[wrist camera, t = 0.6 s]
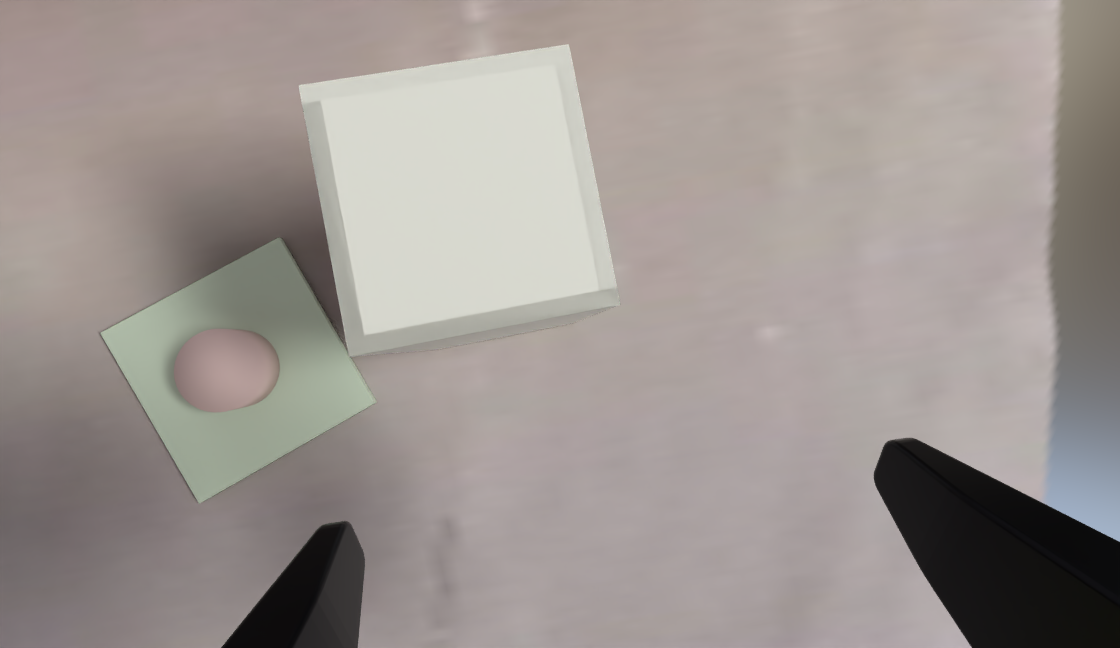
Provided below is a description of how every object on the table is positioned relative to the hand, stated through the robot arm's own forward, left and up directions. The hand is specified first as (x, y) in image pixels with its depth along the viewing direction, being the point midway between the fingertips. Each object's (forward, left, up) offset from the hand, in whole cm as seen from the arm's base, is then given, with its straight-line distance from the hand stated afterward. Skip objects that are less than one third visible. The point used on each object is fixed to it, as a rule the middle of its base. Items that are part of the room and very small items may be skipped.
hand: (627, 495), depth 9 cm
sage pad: (-8, +11, -14) cm, 19 cm away
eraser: (-8, +11, -13) cm, 19 cm away
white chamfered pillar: (+2, +6, -14) cm, 15 cm away
